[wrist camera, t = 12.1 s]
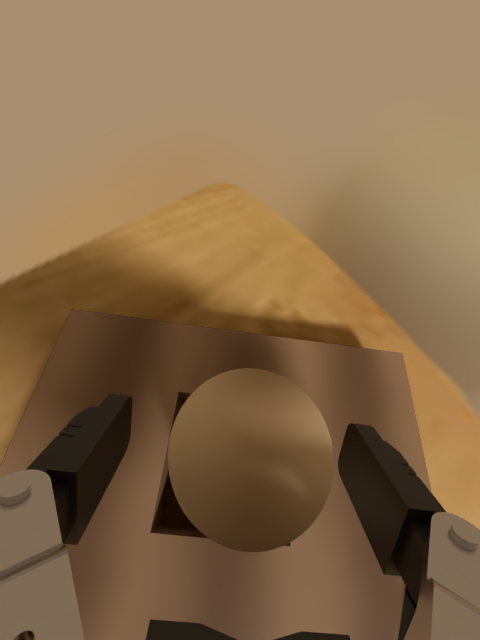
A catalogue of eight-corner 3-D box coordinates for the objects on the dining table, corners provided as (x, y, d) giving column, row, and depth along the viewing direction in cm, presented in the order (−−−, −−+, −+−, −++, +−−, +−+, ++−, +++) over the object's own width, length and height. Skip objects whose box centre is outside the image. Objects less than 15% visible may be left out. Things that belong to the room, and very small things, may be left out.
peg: (178, 510, 15) (143, 548, 6) (193, 419, 17) (182, 356, 9) (265, 519, 15) (345, 566, 7) (268, 428, 18) (331, 374, 9)
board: (-27, 621, 12) (-88, 658, 10) (89, 332, 19) (71, 309, 17) (421, 656, 13) (474, 699, 11) (377, 369, 20) (402, 353, 18)
